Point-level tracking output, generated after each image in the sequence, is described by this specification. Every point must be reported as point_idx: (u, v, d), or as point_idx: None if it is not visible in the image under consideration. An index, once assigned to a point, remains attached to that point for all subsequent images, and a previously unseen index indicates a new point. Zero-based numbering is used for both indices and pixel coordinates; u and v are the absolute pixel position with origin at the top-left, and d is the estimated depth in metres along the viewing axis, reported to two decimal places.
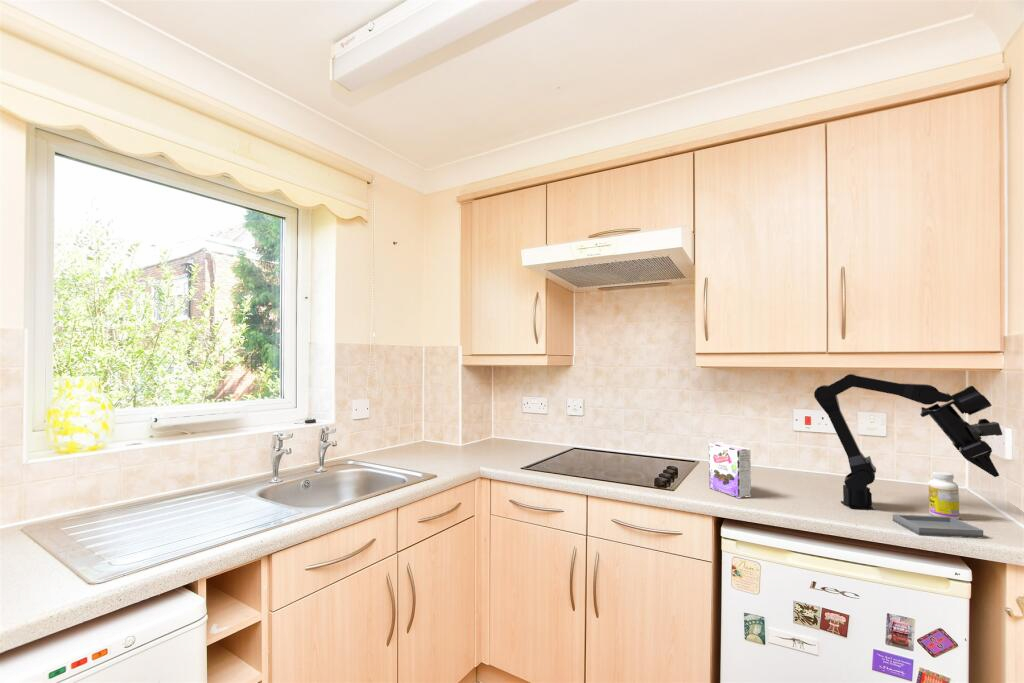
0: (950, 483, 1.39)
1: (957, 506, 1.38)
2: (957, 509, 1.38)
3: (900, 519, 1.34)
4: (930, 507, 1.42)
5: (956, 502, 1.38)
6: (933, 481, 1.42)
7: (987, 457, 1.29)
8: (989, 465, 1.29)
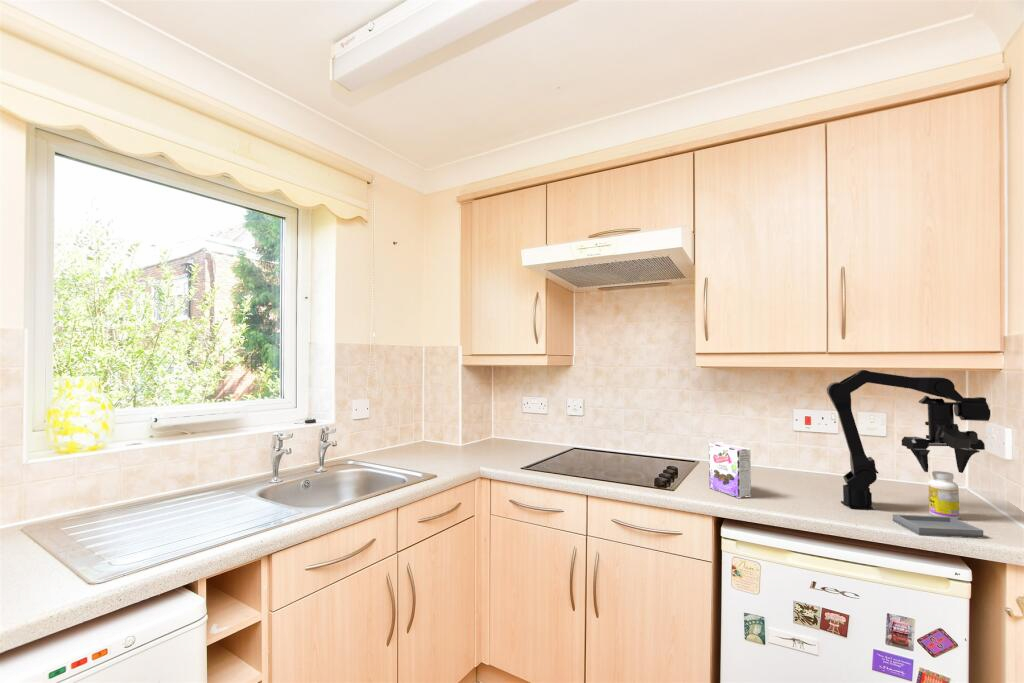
0: (950, 483, 1.39)
1: (957, 506, 1.38)
2: (957, 509, 1.38)
3: (900, 519, 1.34)
4: (930, 507, 1.42)
5: (956, 502, 1.38)
6: (933, 481, 1.42)
7: (921, 454, 1.41)
8: (921, 460, 1.42)
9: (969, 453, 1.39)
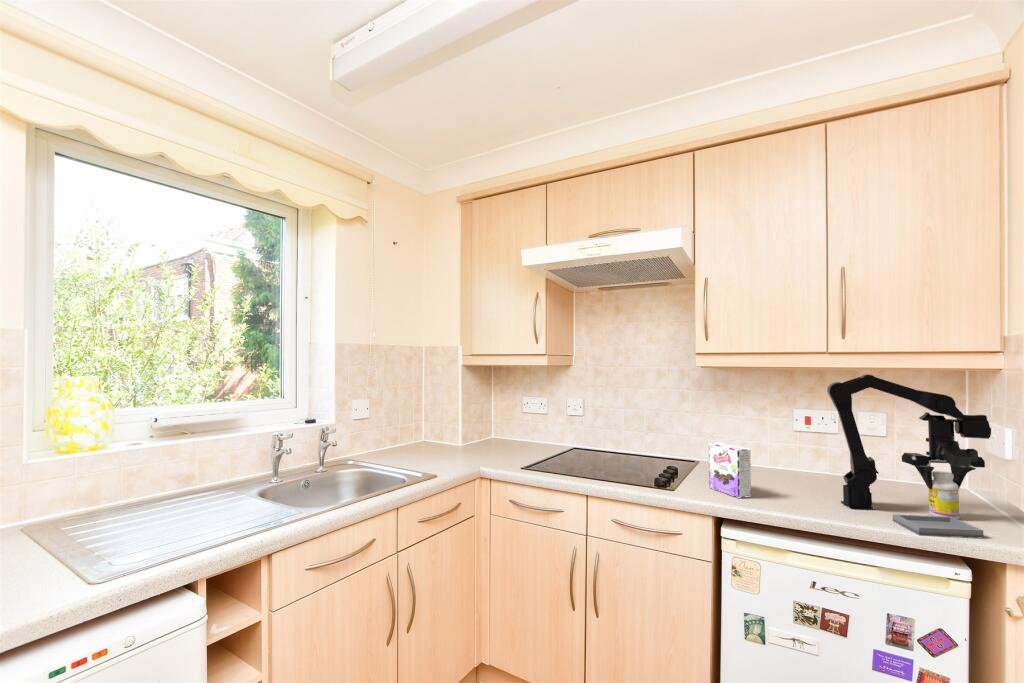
0: (950, 483, 1.39)
1: (957, 506, 1.38)
2: (957, 509, 1.38)
3: (900, 519, 1.34)
4: (930, 507, 1.42)
5: (956, 502, 1.38)
6: (933, 481, 1.42)
7: (925, 471, 1.41)
8: (926, 477, 1.42)
9: (964, 471, 1.39)
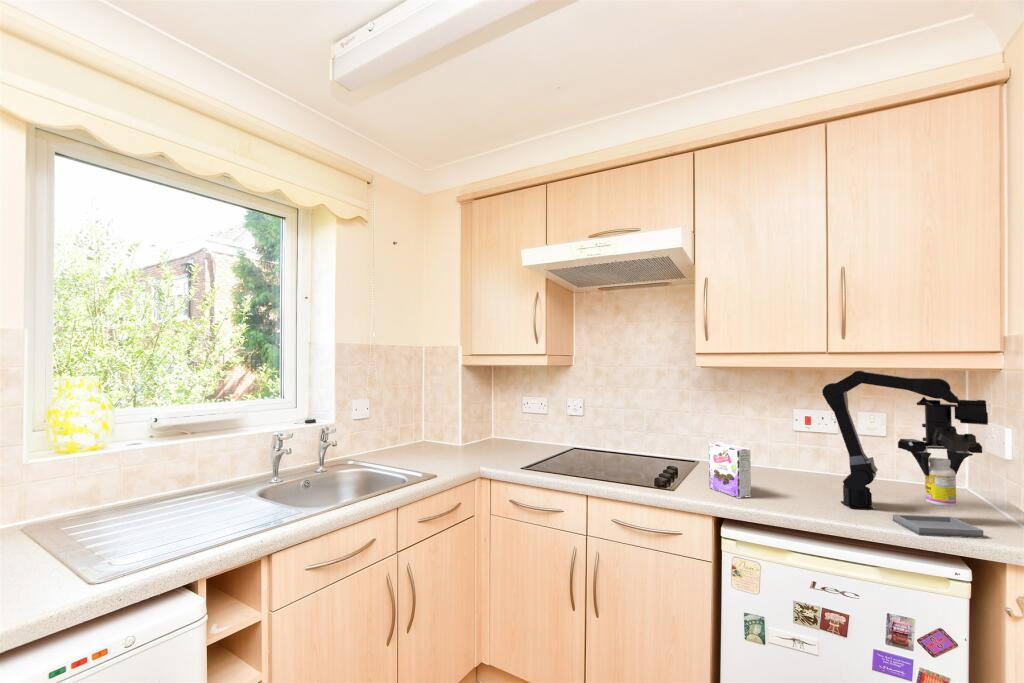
0: (947, 469, 1.35)
1: (954, 493, 1.35)
2: (954, 496, 1.35)
3: (900, 519, 1.34)
4: (926, 494, 1.39)
5: (953, 488, 1.35)
6: (930, 467, 1.38)
7: (921, 457, 1.38)
8: (922, 464, 1.38)
9: (962, 457, 1.35)
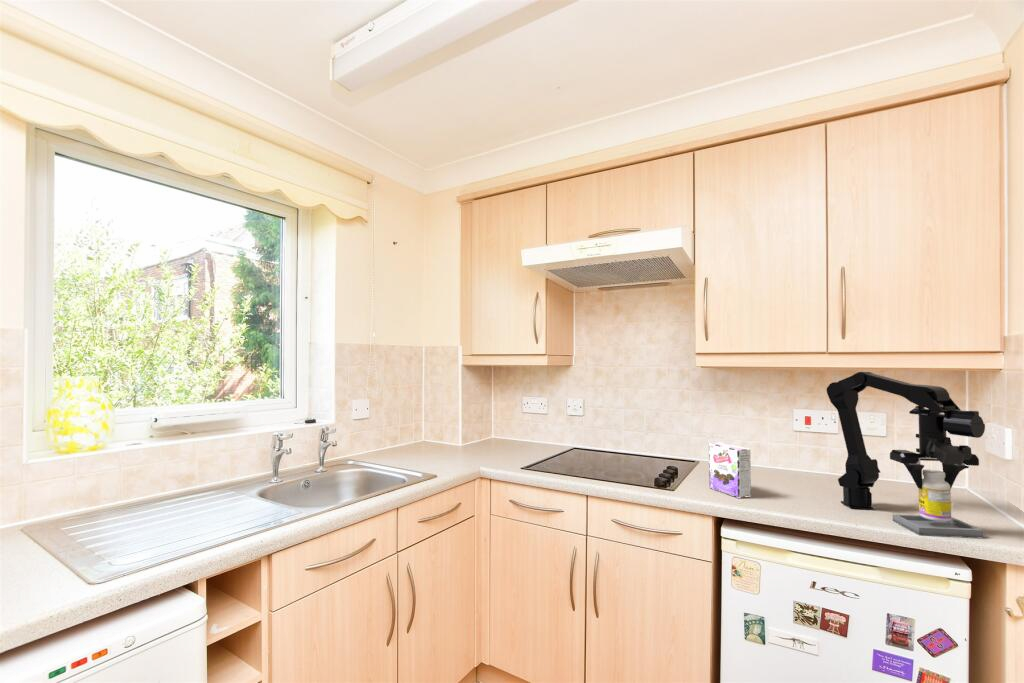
0: (942, 482, 1.29)
1: (949, 507, 1.28)
2: (949, 511, 1.28)
3: (900, 519, 1.34)
4: (920, 508, 1.32)
5: (948, 503, 1.28)
6: (923, 480, 1.31)
7: (914, 469, 1.31)
8: (915, 476, 1.32)
9: (957, 469, 1.28)
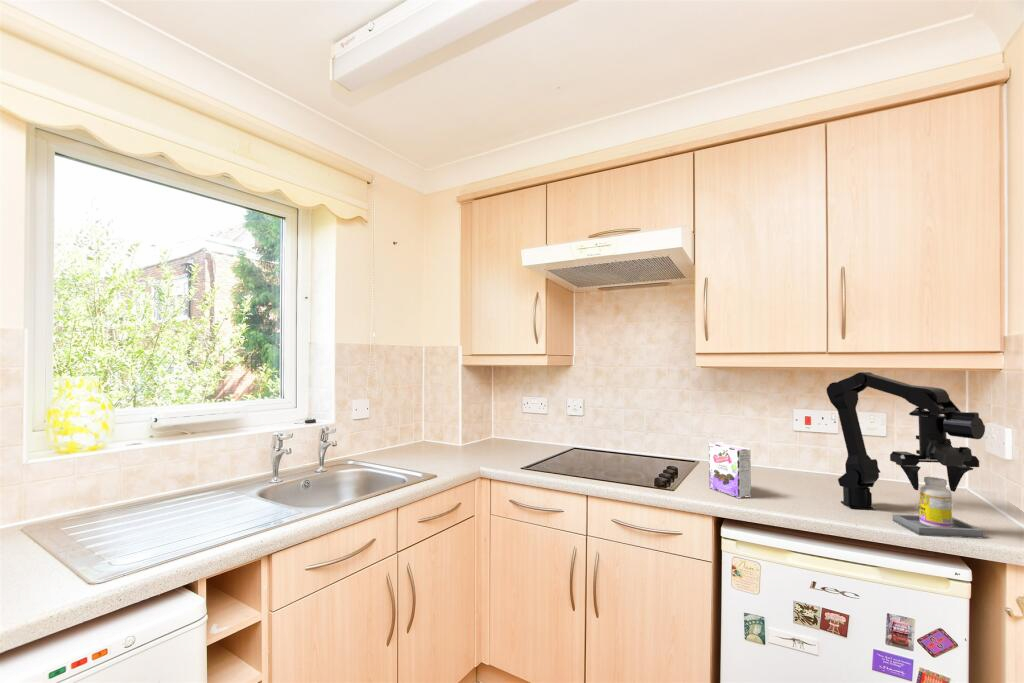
0: (943, 490, 1.29)
1: (949, 515, 1.28)
2: (950, 518, 1.28)
3: (900, 519, 1.34)
4: (920, 515, 1.32)
5: (949, 510, 1.28)
6: (925, 487, 1.31)
7: (911, 471, 1.31)
8: (911, 478, 1.32)
9: (961, 471, 1.28)
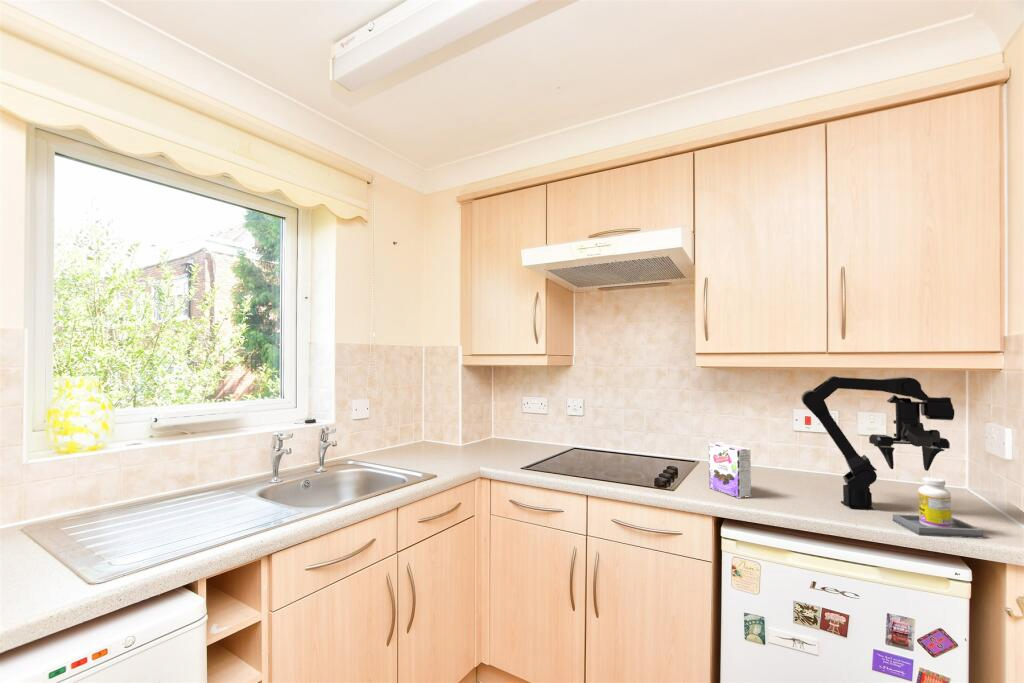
0: (942, 490, 1.29)
1: (949, 515, 1.28)
2: (949, 519, 1.28)
3: (900, 519, 1.34)
4: (920, 516, 1.32)
5: (948, 510, 1.28)
6: (923, 488, 1.31)
7: None
8: (887, 458, 1.46)
9: (934, 452, 1.42)
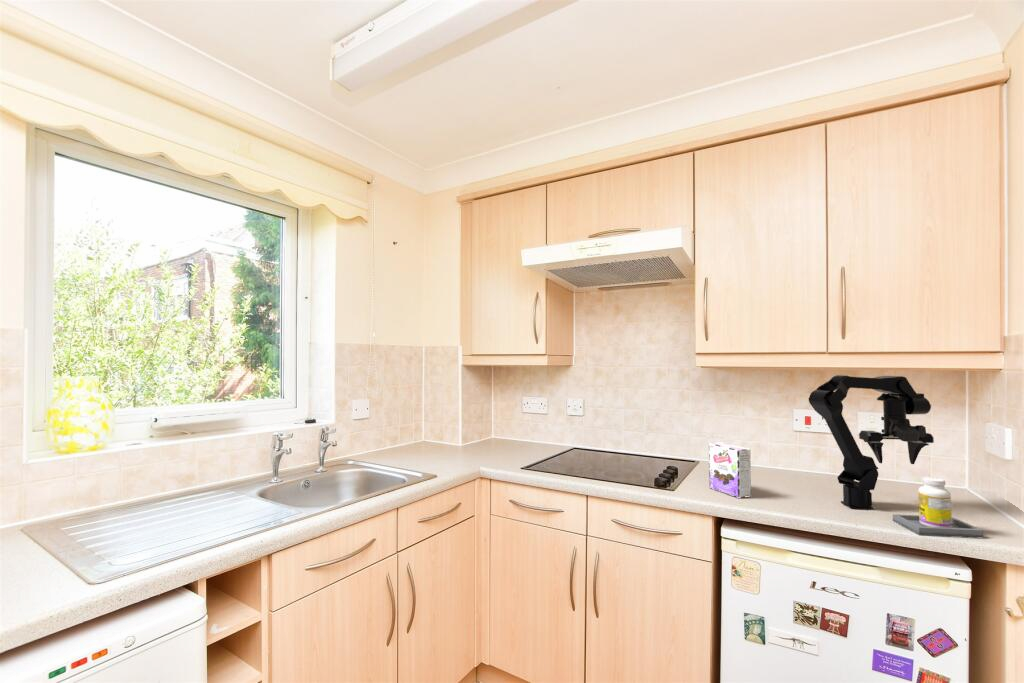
0: (942, 490, 1.29)
1: (949, 515, 1.28)
2: (949, 518, 1.28)
3: (900, 519, 1.34)
4: (920, 516, 1.32)
5: (948, 510, 1.28)
6: (923, 488, 1.31)
7: None
8: (876, 452, 1.54)
9: (919, 446, 1.50)
